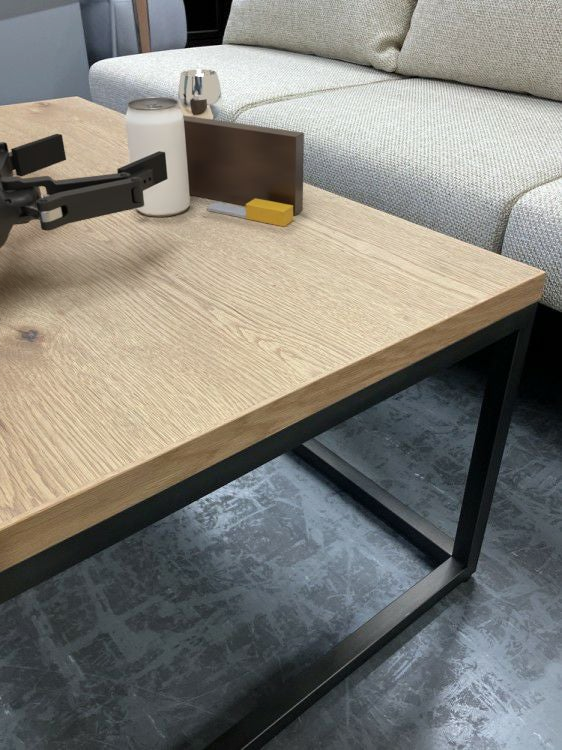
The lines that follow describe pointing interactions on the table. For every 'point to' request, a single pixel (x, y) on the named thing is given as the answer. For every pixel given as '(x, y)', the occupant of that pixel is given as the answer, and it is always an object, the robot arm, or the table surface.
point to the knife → (258, 211)
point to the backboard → (244, 162)
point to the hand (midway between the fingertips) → (110, 155)
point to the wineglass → (200, 94)
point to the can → (166, 134)
